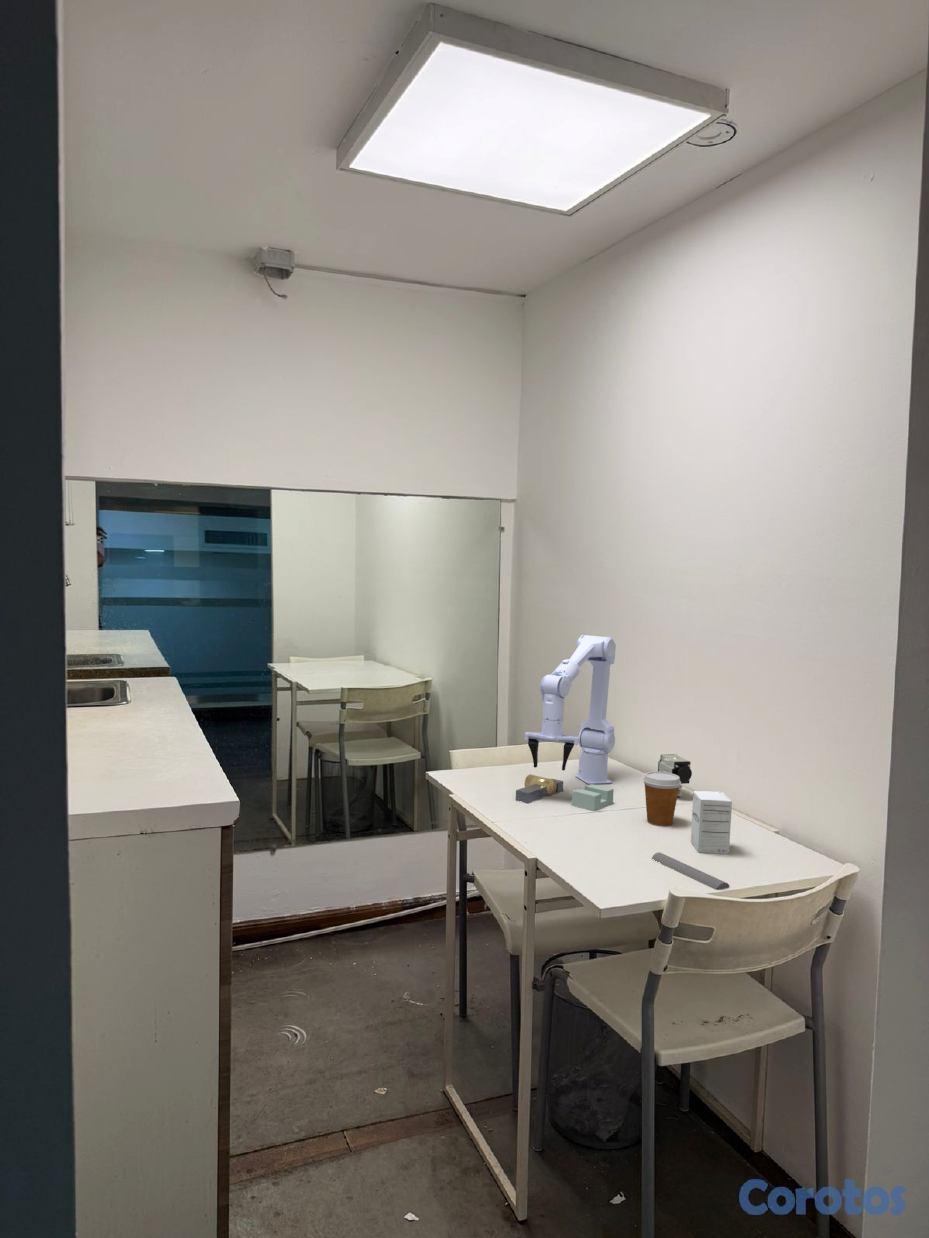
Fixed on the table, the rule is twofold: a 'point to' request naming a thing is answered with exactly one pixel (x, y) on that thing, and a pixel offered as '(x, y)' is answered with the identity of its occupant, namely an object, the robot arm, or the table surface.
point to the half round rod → (689, 871)
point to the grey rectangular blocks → (535, 792)
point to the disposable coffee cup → (661, 797)
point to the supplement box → (711, 822)
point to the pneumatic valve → (676, 768)
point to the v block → (592, 797)
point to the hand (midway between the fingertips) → (549, 768)
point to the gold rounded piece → (542, 783)
